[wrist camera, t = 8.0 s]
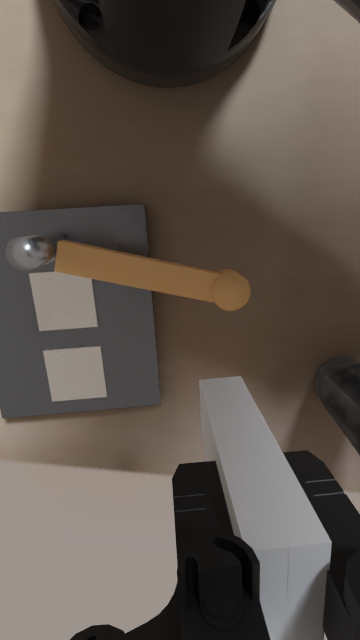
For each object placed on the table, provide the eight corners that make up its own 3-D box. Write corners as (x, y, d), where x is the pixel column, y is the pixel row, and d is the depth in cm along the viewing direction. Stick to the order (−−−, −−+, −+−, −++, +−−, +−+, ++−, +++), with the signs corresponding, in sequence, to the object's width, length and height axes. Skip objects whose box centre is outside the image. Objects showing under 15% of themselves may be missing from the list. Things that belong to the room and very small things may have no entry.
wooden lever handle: (60, 272, 22) (52, 276, 20) (65, 234, 21) (57, 235, 20) (238, 307, 23) (245, 314, 22) (247, 272, 23) (255, 277, 21)
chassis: (-36, 215, 25) (-117, 212, 17) (144, 204, 26) (140, 198, 18) (8, 410, 29) (-42, 475, 22) (160, 397, 30) (162, 456, 23)
